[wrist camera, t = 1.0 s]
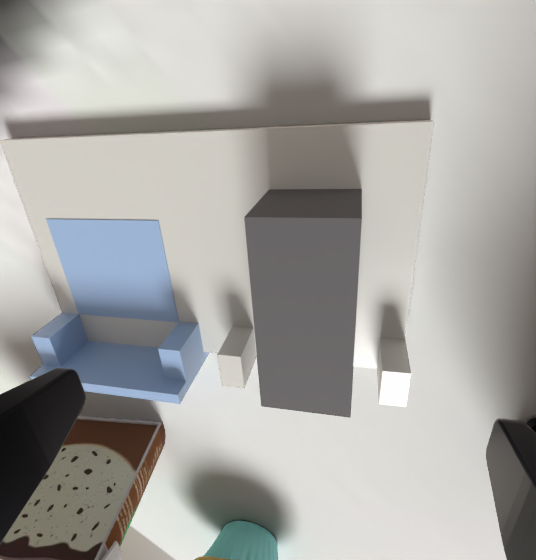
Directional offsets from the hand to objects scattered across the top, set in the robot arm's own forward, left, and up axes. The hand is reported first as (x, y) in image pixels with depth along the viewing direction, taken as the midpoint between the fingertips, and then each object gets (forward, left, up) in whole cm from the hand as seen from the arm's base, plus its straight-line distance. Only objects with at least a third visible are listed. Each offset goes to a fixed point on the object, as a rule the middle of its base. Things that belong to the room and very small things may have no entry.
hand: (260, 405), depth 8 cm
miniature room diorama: (+6, +1, -11) cm, 13 cm away
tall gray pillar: (0, +2, -10) cm, 11 cm away
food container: (+16, +18, -12) cm, 27 cm away
